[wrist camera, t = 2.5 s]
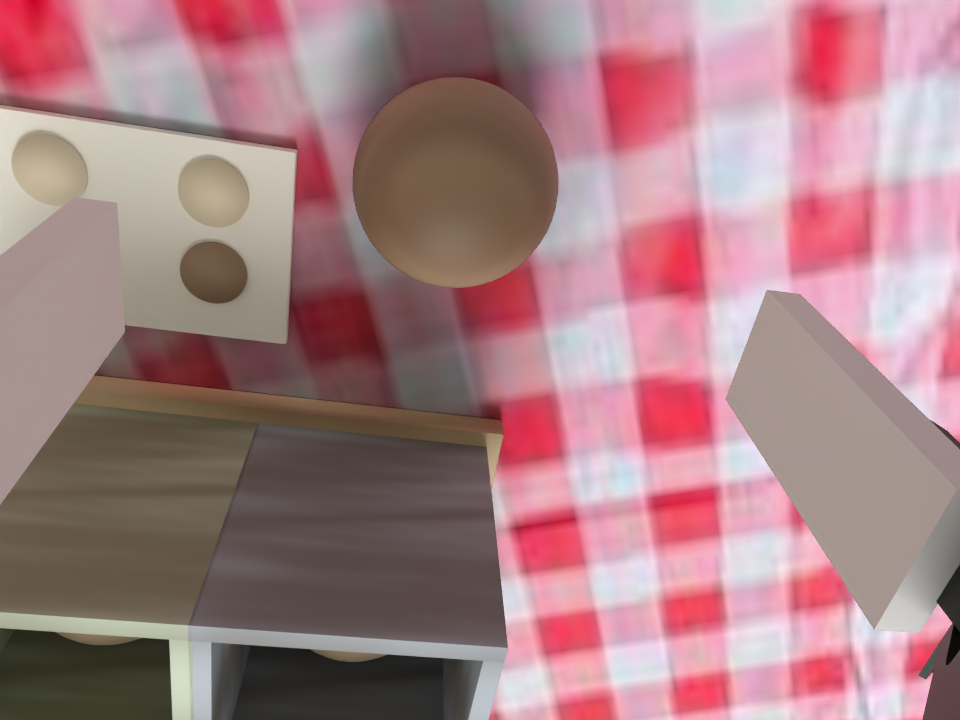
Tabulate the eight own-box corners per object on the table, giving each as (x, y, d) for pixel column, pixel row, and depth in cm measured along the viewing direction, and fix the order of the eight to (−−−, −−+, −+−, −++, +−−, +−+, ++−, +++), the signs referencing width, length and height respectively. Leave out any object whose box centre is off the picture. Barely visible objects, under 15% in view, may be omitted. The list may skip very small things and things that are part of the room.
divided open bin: (7, 365, 28) (-196, 580, 19) (501, 420, 30) (531, 633, 21) (37, 565, 33) (-113, 812, 24) (462, 598, 35) (473, 834, 26)
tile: (-35, 99, 23) (-46, 103, 23) (297, 149, 25) (294, 154, 24) (-4, 304, 27) (-13, 312, 26) (287, 339, 28) (285, 346, 28)
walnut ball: (370, 45, 23) (353, 81, 18) (562, 78, 24) (598, 122, 19) (353, 231, 26) (334, 308, 21) (524, 255, 27) (547, 335, 22)
